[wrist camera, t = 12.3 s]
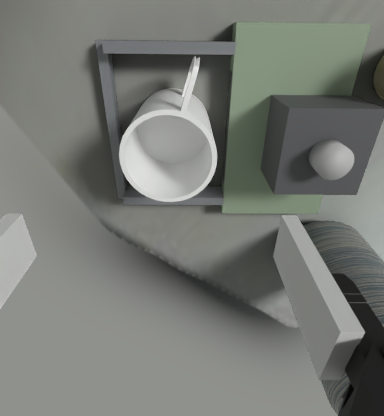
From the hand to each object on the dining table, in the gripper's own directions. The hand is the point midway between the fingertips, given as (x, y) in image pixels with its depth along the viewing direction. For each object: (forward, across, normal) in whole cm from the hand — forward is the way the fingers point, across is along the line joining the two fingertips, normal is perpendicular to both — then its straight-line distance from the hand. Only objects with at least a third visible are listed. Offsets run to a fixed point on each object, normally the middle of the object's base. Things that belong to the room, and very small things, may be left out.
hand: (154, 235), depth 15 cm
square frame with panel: (+21, +5, 0) cm, 21 cm away
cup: (+21, +1, +2) cm, 21 cm away
